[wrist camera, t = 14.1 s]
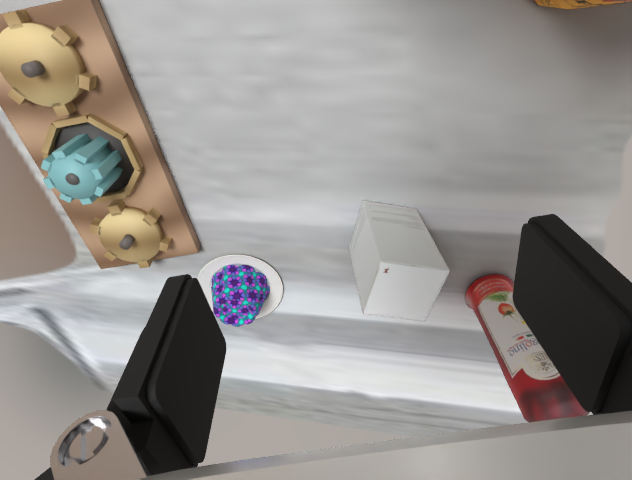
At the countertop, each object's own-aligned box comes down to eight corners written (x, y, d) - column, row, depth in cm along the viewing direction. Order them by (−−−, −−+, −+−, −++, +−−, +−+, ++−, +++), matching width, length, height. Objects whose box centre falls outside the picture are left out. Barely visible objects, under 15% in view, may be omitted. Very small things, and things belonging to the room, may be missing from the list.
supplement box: (347, 247, 51) (359, 315, 41) (362, 198, 47) (380, 259, 37) (399, 255, 52) (425, 324, 42) (419, 208, 48) (452, 270, 38)
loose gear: (56, 139, 40) (27, 157, 36) (107, 129, 40) (84, 146, 35) (84, 187, 43) (60, 209, 39) (131, 178, 43) (113, 199, 39)
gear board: (-38, 23, 36) (-77, 28, 32) (95, -6, 35) (71, -5, 31) (105, 262, 51) (90, 284, 47) (200, 245, 50) (192, 267, 46)
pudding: (240, 328, 59) (235, 356, 55) (179, 282, 54) (168, 308, 49) (300, 289, 55) (300, 315, 51) (241, 235, 50) (235, 259, 46)
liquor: (508, 260, 53) (671, 475, 30) (514, 296, 57) (663, 512, 34) (455, 277, 55) (572, 496, 31) (465, 312, 58) (575, 529, 35)
